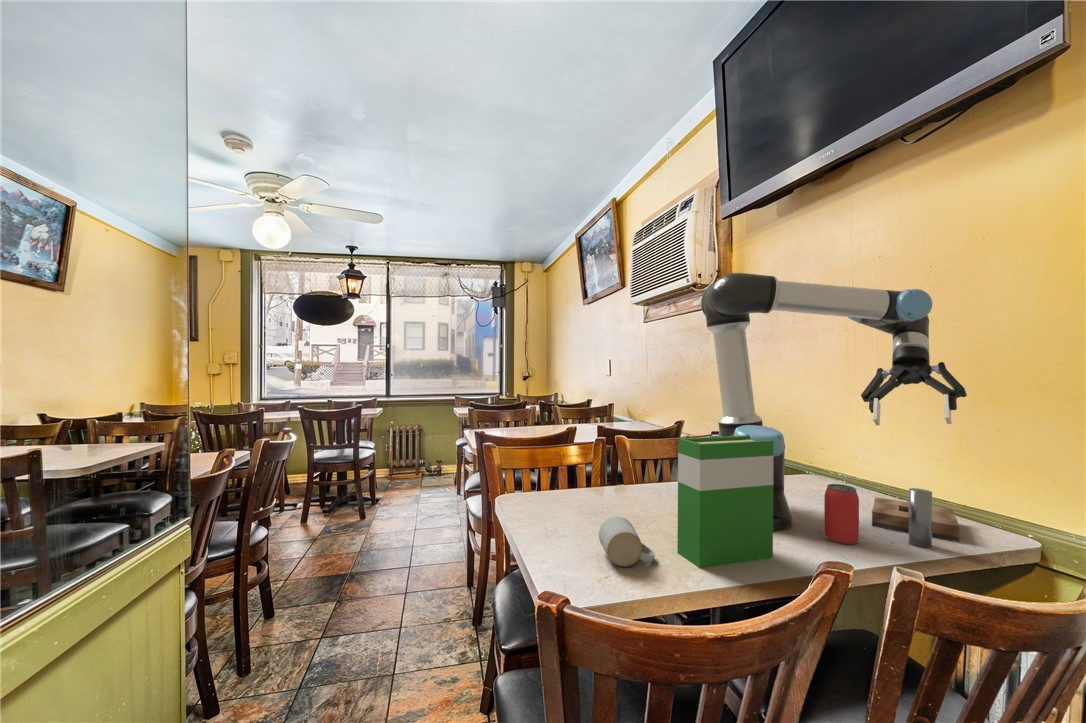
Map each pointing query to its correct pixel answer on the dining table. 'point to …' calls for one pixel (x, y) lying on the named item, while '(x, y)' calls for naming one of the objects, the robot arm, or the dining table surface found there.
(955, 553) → the dining table surface
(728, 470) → the cereal box
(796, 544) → the dining table surface
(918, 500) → the steel pin
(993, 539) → the dining table surface
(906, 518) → the socket block
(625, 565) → the ceramic mug
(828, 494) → the beer can
